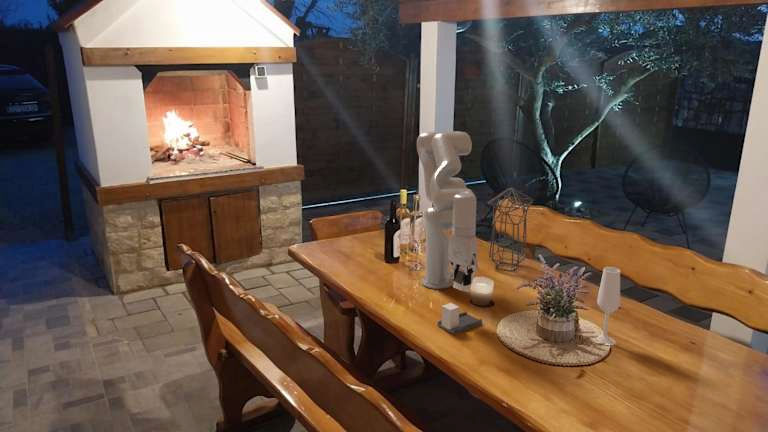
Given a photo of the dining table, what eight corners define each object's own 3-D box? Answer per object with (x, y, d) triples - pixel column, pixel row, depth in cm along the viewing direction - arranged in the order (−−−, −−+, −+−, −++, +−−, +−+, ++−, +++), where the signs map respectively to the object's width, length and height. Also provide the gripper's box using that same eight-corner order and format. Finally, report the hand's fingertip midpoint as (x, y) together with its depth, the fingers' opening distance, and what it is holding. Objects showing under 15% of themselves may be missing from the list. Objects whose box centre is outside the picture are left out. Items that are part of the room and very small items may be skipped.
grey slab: (465, 315, 202) (465, 311, 202) (482, 323, 196) (482, 319, 195) (437, 325, 195) (437, 321, 194) (453, 334, 188) (453, 330, 188)
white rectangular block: (460, 288, 199) (467, 269, 199) (468, 292, 196) (475, 272, 196) (451, 286, 196) (458, 267, 196) (459, 290, 193) (466, 270, 193)
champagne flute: (615, 337, 186) (623, 267, 179) (616, 347, 180) (624, 274, 173) (593, 334, 188) (600, 265, 181) (593, 344, 182) (600, 272, 175)
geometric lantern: (530, 265, 250) (536, 186, 240) (517, 277, 237) (523, 195, 227) (496, 258, 258) (500, 181, 248) (482, 269, 245) (485, 189, 235)
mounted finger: (451, 321, 195) (452, 302, 194) (459, 325, 192) (460, 306, 190) (441, 325, 193) (441, 305, 191) (449, 329, 190) (450, 309, 188)
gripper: (438, 227, 195) (437, 278, 200) (473, 238, 182) (471, 293, 187) (454, 223, 200) (453, 273, 204) (490, 234, 187) (488, 287, 191)
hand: (462, 282), depth 196 cm, fingers closed on white rectangular block, 3 cm apart
